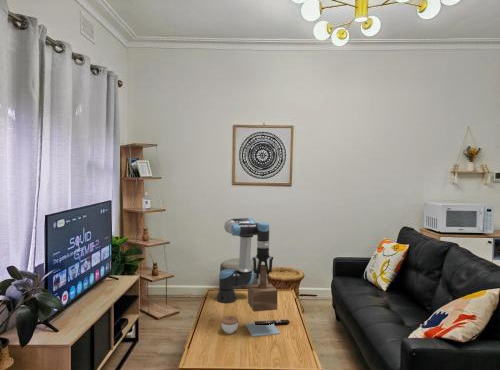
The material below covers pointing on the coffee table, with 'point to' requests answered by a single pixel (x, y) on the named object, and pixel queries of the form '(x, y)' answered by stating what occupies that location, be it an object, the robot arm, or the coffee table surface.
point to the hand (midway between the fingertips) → (262, 283)
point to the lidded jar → (229, 324)
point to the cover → (262, 293)
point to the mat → (261, 329)
